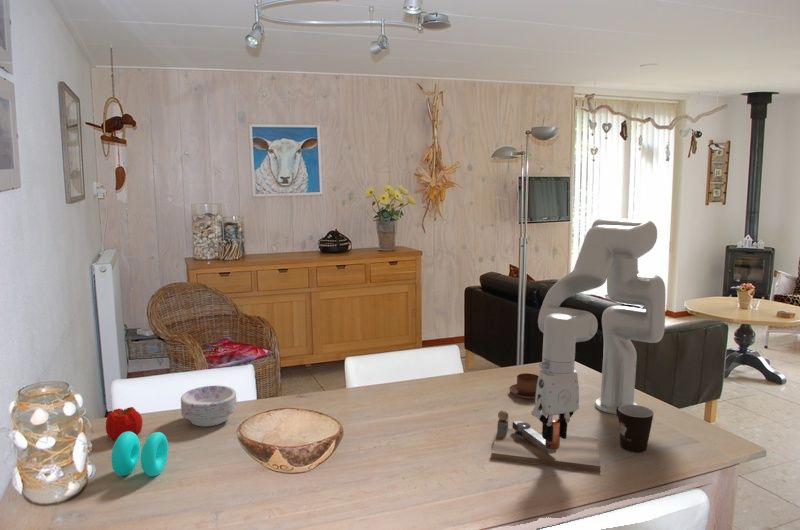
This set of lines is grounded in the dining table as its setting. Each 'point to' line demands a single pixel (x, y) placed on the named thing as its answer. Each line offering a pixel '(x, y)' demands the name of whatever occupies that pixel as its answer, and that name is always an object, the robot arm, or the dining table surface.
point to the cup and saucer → (525, 386)
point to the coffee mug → (634, 427)
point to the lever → (537, 438)
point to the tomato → (123, 422)
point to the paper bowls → (208, 405)
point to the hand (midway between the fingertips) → (554, 437)
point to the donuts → (129, 453)
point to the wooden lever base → (520, 449)
